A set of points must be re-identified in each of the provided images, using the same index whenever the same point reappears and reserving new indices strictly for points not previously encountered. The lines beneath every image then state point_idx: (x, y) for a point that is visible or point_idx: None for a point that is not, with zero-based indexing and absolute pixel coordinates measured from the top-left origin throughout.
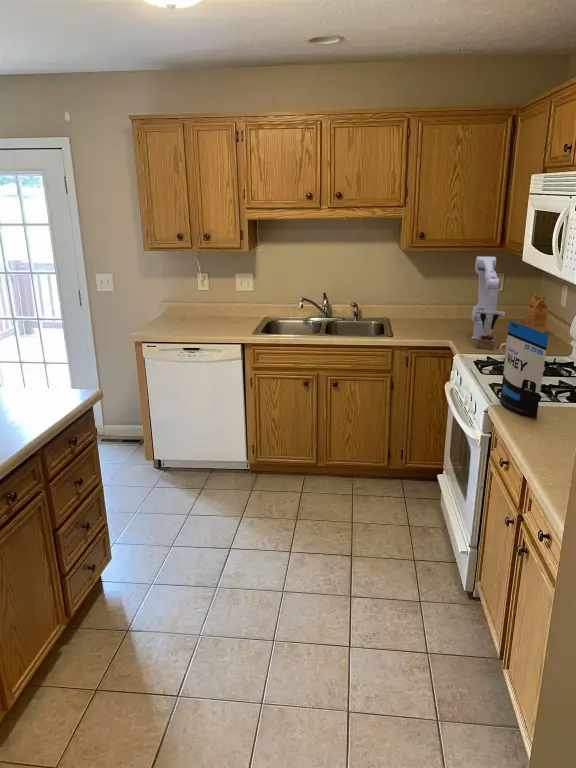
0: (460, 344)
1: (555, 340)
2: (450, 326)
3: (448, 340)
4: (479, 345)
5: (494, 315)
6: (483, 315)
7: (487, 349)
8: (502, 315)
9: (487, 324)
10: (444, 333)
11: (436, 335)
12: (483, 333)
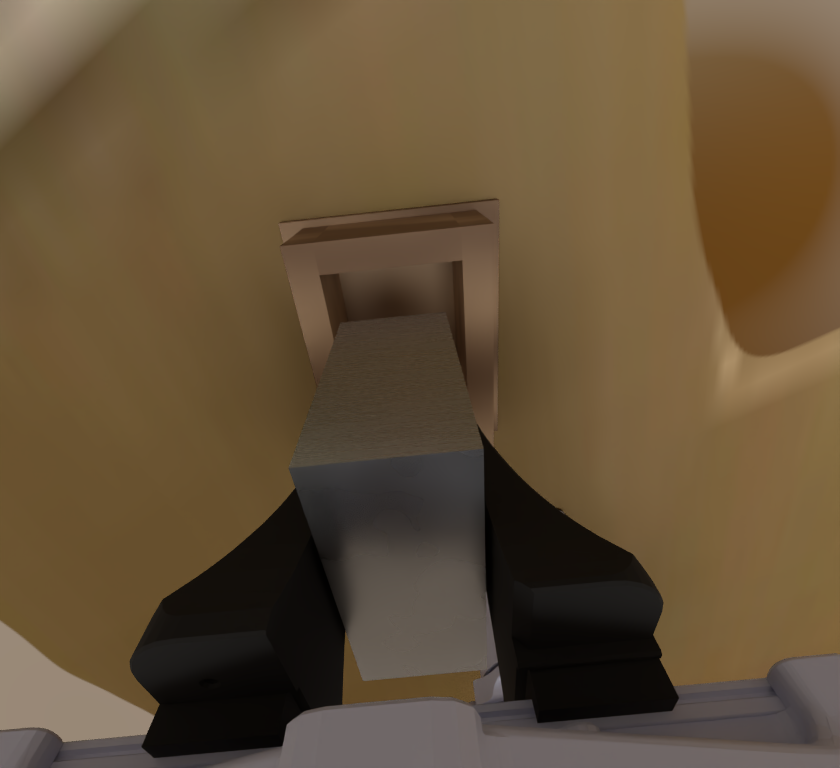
0: (644, 296)
1: (108, 671)
2: (688, 677)
3: (745, 388)
4: (449, 215)
5: (263, 705)
6: (565, 642)
7: (357, 214)
8: (22, 748)
9: (392, 399)
10: (745, 554)
11: (819, 487)
12: (439, 314)
